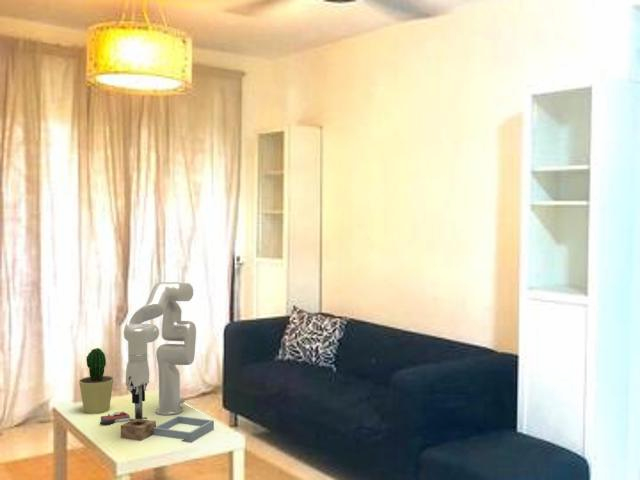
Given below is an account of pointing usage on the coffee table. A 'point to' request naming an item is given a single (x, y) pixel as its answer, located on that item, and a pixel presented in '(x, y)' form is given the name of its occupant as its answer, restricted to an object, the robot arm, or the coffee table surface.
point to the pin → (139, 406)
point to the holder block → (137, 429)
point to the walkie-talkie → (116, 418)
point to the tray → (187, 436)
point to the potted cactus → (96, 384)
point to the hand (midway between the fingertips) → (138, 401)
